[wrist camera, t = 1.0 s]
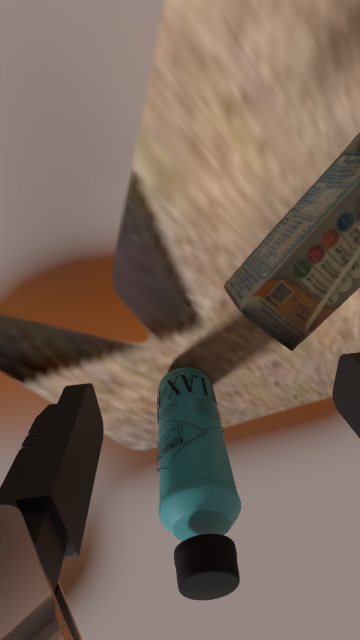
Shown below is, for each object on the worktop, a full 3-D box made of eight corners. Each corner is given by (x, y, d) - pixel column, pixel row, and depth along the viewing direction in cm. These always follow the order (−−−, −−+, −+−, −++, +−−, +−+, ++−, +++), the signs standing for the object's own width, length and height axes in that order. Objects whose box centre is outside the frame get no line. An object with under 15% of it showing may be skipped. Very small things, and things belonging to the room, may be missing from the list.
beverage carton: (416, 182, 27) (488, 184, 21) (269, 326, 33) (293, 359, 27) (369, 117, 24) (437, 99, 18) (218, 287, 30) (233, 314, 24)
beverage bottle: (218, 366, 35) (285, 569, 17) (195, 405, 37) (232, 618, 19) (168, 350, 33) (183, 555, 15) (148, 392, 36) (140, 610, 18)
